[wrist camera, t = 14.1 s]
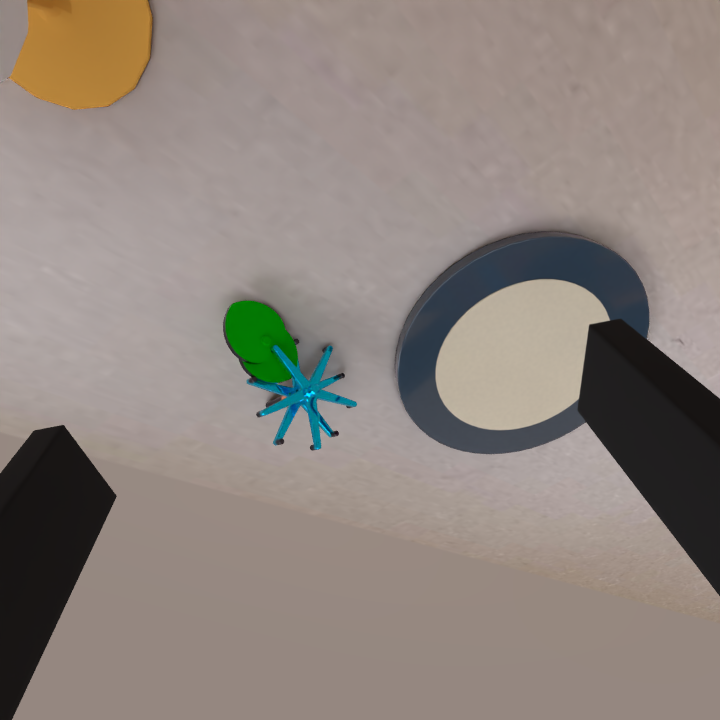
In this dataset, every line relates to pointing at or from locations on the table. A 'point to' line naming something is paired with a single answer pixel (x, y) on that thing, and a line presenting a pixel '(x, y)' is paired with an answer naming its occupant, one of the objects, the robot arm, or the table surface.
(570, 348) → the plate
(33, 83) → the cup
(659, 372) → the robot arm
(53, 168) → the table surface
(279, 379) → the spiky blue green toy
